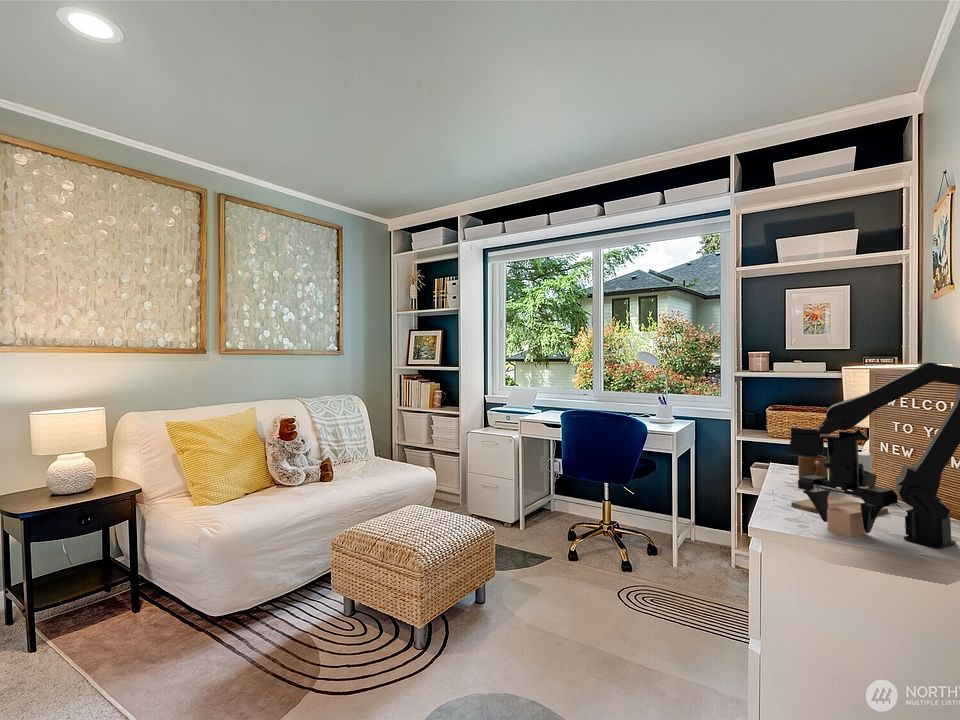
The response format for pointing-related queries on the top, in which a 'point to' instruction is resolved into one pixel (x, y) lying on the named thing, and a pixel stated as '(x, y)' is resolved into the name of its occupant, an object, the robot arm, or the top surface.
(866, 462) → the skincare box
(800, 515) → the top surface
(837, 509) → the terracotta cube
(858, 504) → the walnut board
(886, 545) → the top surface
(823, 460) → the mug
